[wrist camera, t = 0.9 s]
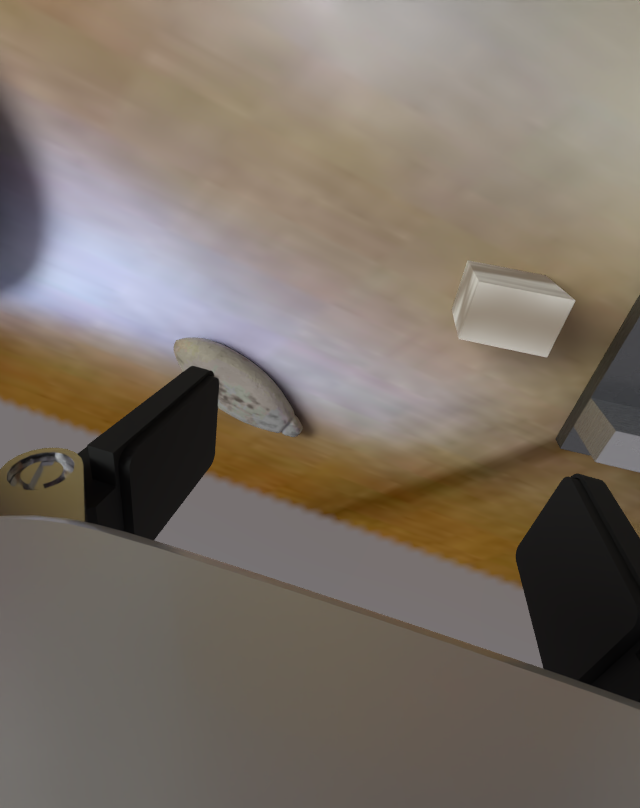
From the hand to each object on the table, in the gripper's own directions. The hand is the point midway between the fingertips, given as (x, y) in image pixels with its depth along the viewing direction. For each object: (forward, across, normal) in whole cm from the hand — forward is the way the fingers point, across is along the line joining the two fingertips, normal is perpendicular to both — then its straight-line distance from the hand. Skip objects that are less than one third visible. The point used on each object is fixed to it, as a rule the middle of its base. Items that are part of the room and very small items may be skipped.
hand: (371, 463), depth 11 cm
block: (+26, -7, -1) cm, 27 cm away
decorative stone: (+27, +13, +14) cm, 33 cm away
